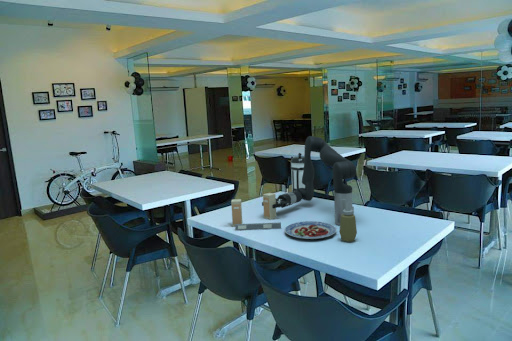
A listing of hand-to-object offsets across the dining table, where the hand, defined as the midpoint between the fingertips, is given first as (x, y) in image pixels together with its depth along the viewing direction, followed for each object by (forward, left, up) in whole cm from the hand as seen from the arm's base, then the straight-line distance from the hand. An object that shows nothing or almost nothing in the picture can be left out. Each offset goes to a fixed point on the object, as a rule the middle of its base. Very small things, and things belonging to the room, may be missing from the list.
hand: (267, 205), depth 224 cm
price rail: (-12, +14, -8) cm, 20 cm away
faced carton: (+1, +19, -8) cm, 21 cm away
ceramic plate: (-34, -3, -8) cm, 35 cm away
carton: (0, -2, -8) cm, 8 cm away
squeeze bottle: (-53, -10, -8) cm, 54 cm away
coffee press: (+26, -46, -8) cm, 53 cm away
